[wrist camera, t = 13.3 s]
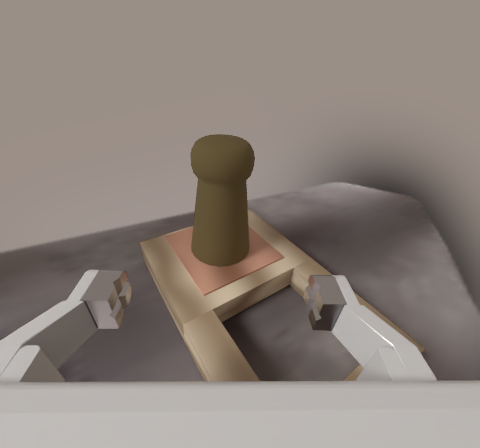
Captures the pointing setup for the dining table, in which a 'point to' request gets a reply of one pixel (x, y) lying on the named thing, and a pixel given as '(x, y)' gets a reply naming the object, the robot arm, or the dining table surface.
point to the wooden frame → (229, 292)
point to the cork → (221, 199)
